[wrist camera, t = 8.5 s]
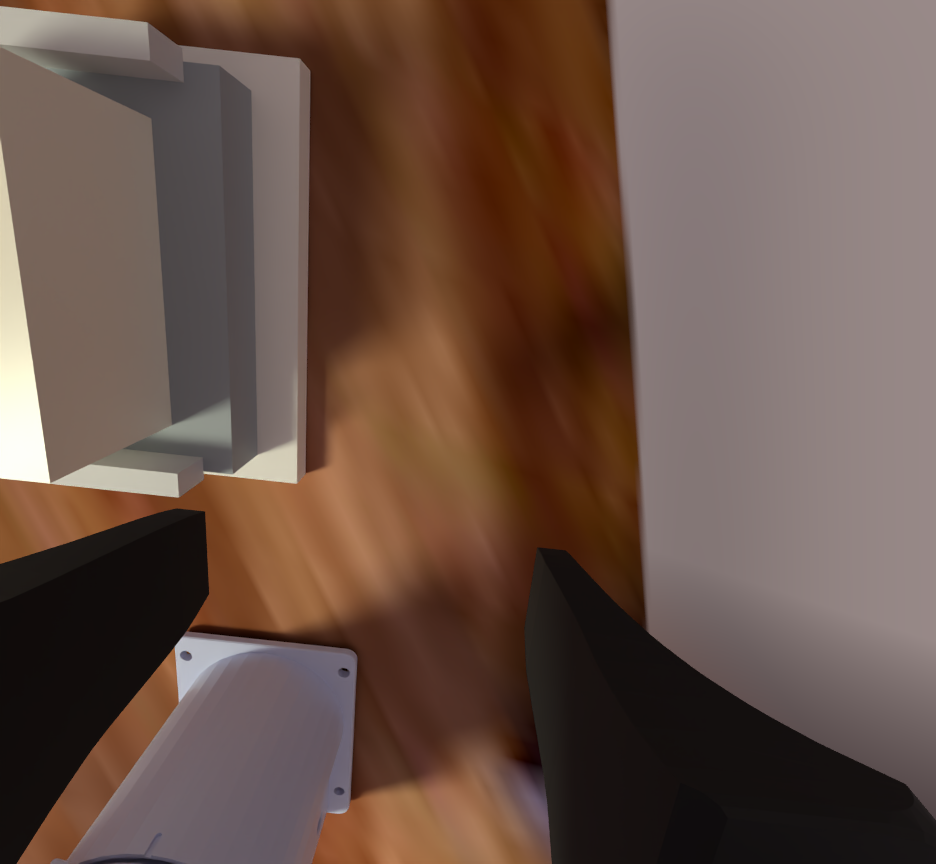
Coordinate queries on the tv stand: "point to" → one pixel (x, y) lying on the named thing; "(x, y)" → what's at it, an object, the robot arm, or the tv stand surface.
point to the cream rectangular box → (76, 277)
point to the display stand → (208, 242)
